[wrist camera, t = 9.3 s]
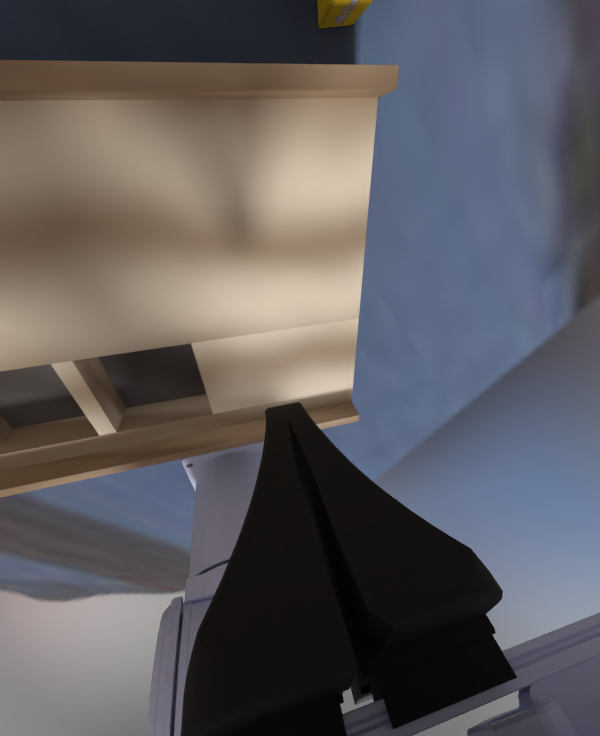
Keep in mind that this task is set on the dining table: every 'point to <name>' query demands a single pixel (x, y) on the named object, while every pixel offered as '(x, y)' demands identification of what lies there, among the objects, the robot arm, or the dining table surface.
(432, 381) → the dining table surface
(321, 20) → the candy box
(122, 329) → the box
